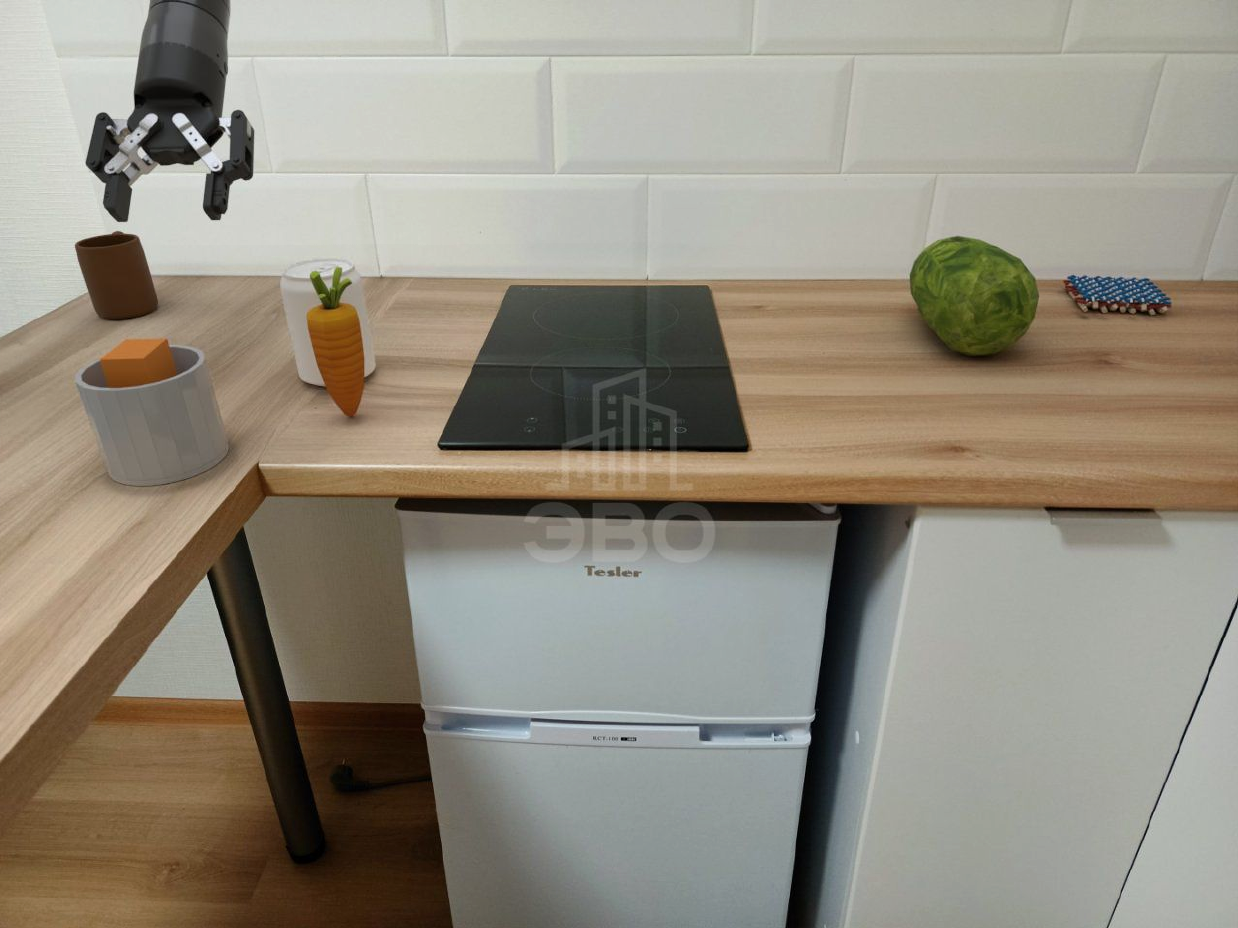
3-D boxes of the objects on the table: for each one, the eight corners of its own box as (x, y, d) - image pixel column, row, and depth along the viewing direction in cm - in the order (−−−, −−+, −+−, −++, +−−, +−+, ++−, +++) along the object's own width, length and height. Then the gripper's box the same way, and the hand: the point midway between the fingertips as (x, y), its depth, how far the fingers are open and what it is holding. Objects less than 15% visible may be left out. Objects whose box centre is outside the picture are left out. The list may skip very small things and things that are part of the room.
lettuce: (968, 303, 111) (985, 215, 106) (1041, 365, 93) (1066, 262, 88) (880, 305, 111) (892, 217, 106) (936, 367, 93) (954, 265, 88)
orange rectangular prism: (134, 465, 76) (99, 359, 71) (157, 440, 80) (125, 339, 75) (175, 463, 76) (143, 358, 71) (196, 439, 80) (167, 338, 75)
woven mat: (1058, 287, 117) (1062, 272, 116) (1144, 291, 115) (1148, 276, 114) (1078, 312, 108) (1082, 296, 107) (1171, 317, 106) (1176, 301, 105)
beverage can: (283, 384, 92) (259, 274, 86) (332, 357, 99) (312, 253, 93) (346, 394, 89) (324, 282, 83) (391, 366, 96) (374, 260, 90)
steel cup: (82, 473, 76) (47, 379, 71) (173, 426, 84) (147, 338, 79) (165, 495, 72) (134, 397, 68) (252, 443, 80) (230, 353, 76)
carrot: (362, 401, 88) (336, 256, 80) (386, 417, 85) (361, 267, 77) (316, 416, 85) (284, 267, 78) (339, 433, 82) (309, 279, 74)
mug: (109, 296, 120) (87, 228, 115) (168, 290, 122) (149, 223, 117) (90, 323, 110) (66, 250, 105) (155, 317, 112) (134, 244, 107)
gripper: (85, 40, 79) (60, 195, 74) (241, 37, 79) (225, 191, 75) (129, 96, 86) (108, 240, 82) (272, 93, 86) (259, 236, 82)
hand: (164, 216), depth 78 cm, fingers open, 8 cm apart
